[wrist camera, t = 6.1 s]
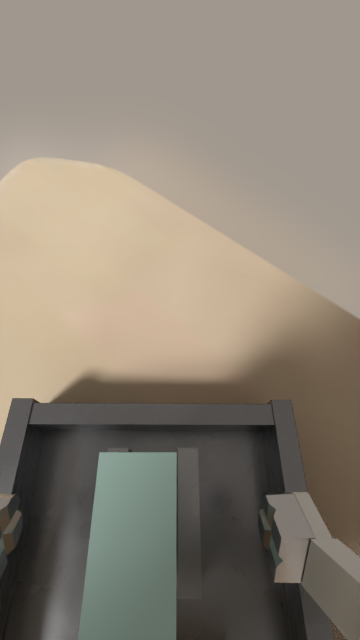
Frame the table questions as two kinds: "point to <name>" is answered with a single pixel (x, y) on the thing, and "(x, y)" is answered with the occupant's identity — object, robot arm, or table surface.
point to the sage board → (132, 549)
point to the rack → (191, 520)
